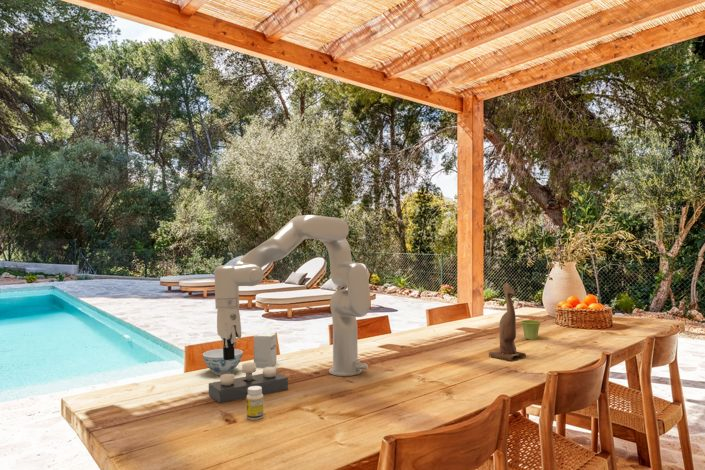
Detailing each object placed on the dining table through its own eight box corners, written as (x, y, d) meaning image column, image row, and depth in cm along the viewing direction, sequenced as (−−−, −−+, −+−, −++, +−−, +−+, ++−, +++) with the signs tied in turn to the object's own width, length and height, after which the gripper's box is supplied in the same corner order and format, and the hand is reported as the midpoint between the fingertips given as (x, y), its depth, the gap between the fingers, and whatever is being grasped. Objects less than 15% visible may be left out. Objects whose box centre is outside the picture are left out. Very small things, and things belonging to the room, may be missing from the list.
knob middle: (252, 378, 166) (252, 361, 166) (257, 381, 162) (257, 364, 162) (240, 380, 163) (240, 363, 163) (245, 383, 160) (245, 366, 160)
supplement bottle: (247, 414, 142) (247, 385, 142) (264, 413, 142) (264, 385, 142) (245, 420, 137) (245, 390, 137) (262, 419, 137) (262, 389, 137)
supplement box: (270, 368, 194) (270, 336, 194) (253, 367, 196) (253, 335, 196) (277, 363, 201) (276, 332, 202) (260, 362, 203) (260, 332, 203)
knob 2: (272, 382, 170) (272, 366, 170) (278, 385, 166) (278, 368, 166) (260, 384, 167) (260, 368, 168) (266, 387, 164) (266, 370, 164)
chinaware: (230, 365, 198) (230, 346, 198) (250, 372, 188) (250, 352, 188) (195, 372, 188) (195, 352, 188) (215, 380, 177) (214, 359, 177)
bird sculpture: (512, 363, 200) (514, 285, 200) (487, 357, 208) (489, 282, 208) (526, 358, 207) (528, 283, 207) (502, 353, 216) (503, 281, 216)
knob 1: (231, 390, 161) (231, 373, 161) (236, 393, 158) (236, 375, 158) (218, 392, 159) (218, 375, 159) (223, 395, 155) (223, 378, 155)
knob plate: (274, 382, 174) (274, 371, 174) (288, 389, 165) (287, 377, 165) (208, 395, 160) (208, 383, 160) (219, 403, 152) (219, 390, 152)
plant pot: (543, 340, 242) (543, 323, 242) (524, 340, 242) (524, 323, 242) (536, 336, 251) (536, 320, 252) (518, 336, 252) (518, 320, 252)
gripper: (247, 304, 155) (249, 361, 155) (229, 299, 167) (231, 353, 167) (224, 306, 150) (226, 365, 150) (208, 302, 163) (210, 356, 163)
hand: (229, 359), depth 159 cm, fingers closed
